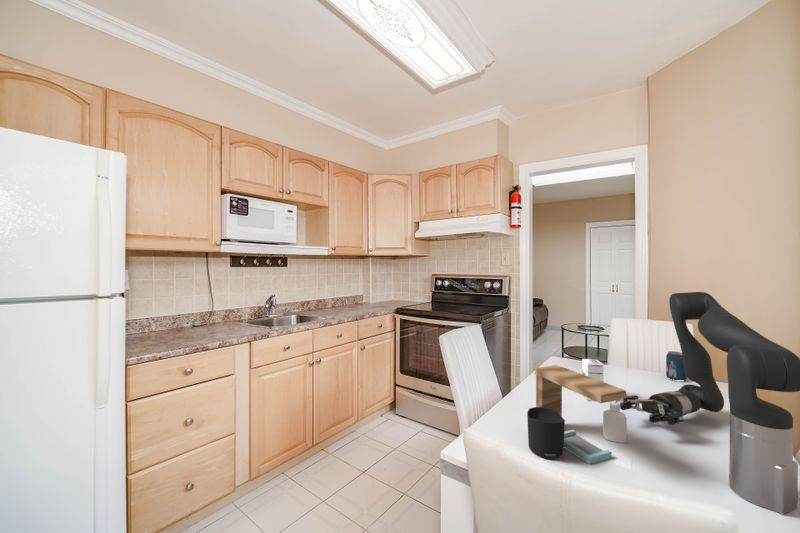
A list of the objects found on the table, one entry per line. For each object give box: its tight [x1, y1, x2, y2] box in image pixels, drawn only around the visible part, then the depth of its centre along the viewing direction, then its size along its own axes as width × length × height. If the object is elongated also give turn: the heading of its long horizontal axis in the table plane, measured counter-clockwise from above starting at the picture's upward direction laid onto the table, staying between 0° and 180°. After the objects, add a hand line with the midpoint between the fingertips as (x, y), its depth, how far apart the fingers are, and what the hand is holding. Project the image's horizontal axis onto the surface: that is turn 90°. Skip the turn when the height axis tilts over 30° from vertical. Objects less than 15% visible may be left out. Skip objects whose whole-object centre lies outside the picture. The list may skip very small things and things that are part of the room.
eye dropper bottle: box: [602, 400, 628, 444], centre depth 92 cm, size 4×6×12 cm
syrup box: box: [581, 358, 605, 402], centre depth 121 cm, size 6×6×14 cm
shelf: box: [534, 364, 627, 418], centre depth 90 cm, size 22×9×19 cm, turn 20°
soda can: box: [665, 350, 688, 381], centre depth 141 cm, size 7×7×12 cm
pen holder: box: [526, 406, 566, 461], centre depth 87 cm, size 9×9×10 cm
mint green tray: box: [563, 429, 613, 465], centre depth 88 cm, size 12×8×2 cm, turn 20°
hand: (635, 412), depth 95 cm, fingers open, 8 cm apart
